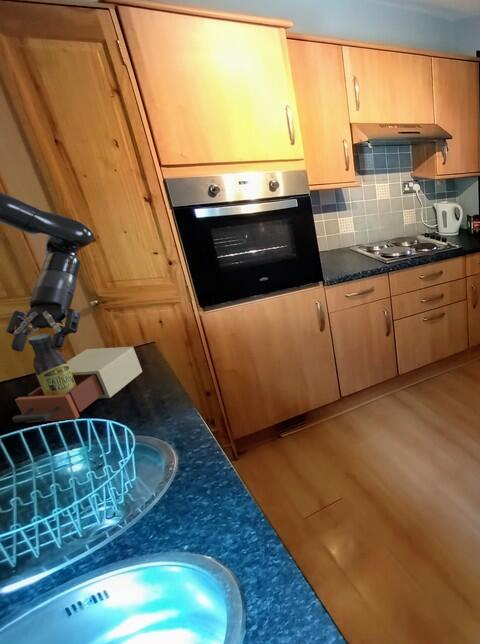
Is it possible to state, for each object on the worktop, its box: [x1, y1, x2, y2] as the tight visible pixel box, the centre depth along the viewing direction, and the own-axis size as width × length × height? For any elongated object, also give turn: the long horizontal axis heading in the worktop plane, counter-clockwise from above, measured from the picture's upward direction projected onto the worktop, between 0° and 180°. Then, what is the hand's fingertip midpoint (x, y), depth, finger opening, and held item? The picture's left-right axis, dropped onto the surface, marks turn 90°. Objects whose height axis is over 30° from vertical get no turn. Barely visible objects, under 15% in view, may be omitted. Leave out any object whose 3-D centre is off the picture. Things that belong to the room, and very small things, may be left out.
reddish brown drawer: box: [11, 374, 104, 423], centre depth 118 cm, size 19×12×7 cm, turn 7°
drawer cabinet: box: [66, 346, 143, 400], centre depth 131 cm, size 15×13×9 cm
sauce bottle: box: [27, 333, 76, 396], centre depth 117 cm, size 6×6×20 cm
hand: (36, 349), depth 112 cm, fingers open, 8 cm apart
